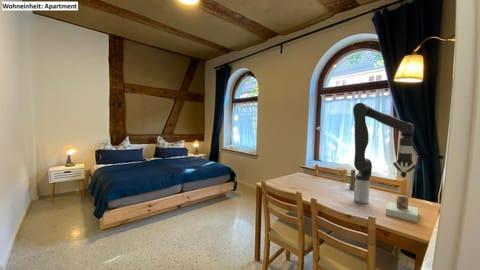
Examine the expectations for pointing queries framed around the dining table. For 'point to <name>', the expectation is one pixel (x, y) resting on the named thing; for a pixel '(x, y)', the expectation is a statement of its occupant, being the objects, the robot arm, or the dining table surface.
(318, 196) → the dining table surface
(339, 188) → the dining table surface
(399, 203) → the peg
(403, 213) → the socket block
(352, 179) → the wooden block
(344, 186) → the dining table surface
